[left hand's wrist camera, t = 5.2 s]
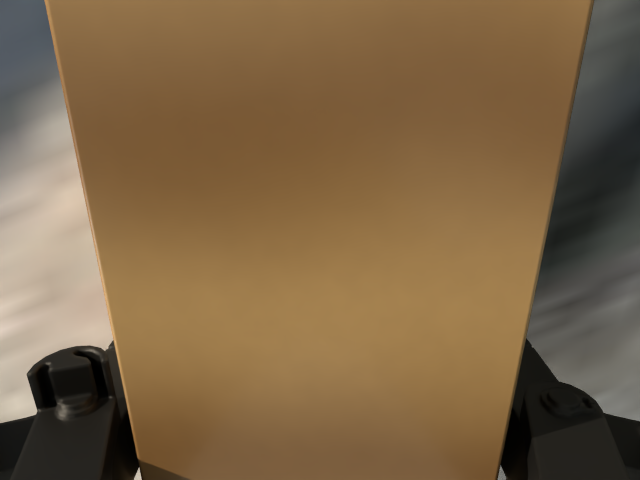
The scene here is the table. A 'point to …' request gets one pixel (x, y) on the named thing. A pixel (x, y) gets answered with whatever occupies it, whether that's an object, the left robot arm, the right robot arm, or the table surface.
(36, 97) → the table surface
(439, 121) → the post
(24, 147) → the table surface
